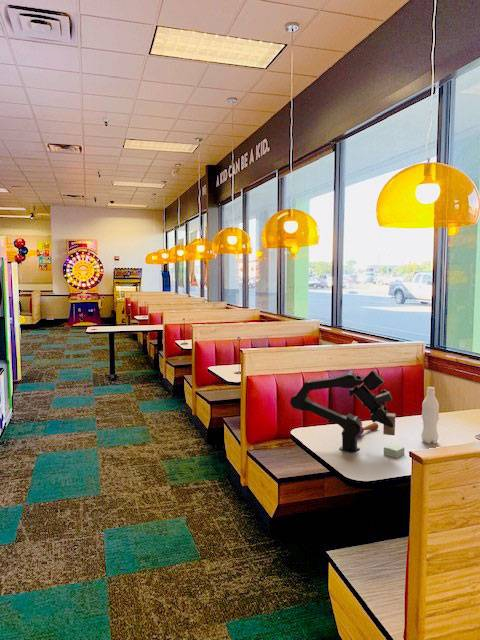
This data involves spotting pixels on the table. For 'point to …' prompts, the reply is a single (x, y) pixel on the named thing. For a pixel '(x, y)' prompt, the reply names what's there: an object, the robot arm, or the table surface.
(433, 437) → the water bottle
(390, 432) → the walnut pillar
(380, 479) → the table surface
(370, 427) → the kendama
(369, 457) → the table surface
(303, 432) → the table surface
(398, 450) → the block
